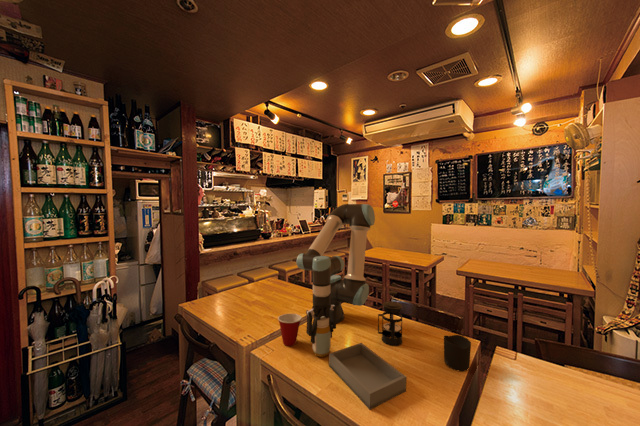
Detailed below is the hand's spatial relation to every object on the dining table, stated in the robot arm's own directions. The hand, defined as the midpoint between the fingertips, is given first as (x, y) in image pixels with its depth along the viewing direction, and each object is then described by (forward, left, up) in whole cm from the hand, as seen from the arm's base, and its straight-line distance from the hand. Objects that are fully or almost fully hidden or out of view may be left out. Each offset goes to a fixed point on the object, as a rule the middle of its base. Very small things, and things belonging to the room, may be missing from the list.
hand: (321, 347), depth 106 cm
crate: (-7, +20, -3) cm, 21 cm away
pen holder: (-44, +32, -3) cm, 54 cm away
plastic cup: (+8, -15, -3) cm, 17 cm away
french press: (-34, +6, -3) cm, 34 cm away
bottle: (0, 0, -2) cm, 2 cm away
